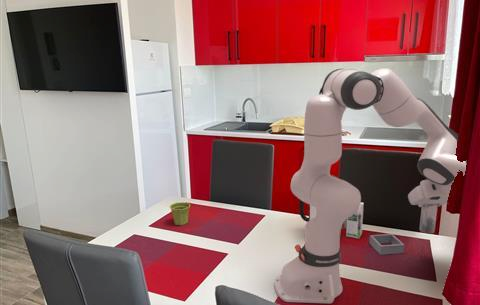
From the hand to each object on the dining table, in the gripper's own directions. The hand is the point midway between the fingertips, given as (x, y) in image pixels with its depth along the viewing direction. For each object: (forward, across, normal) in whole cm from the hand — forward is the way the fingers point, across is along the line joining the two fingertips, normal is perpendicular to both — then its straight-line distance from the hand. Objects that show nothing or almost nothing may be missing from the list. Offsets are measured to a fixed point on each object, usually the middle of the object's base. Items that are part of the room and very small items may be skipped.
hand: (428, 204), depth 138 cm
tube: (+6, 0, +7) cm, 10 cm away
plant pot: (+49, +93, -17) cm, 106 cm away
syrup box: (+31, +18, 0) cm, 36 cm away
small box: (+38, +20, -7) cm, 43 cm away
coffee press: (+31, +33, 0) cm, 45 cm away
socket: (+22, +10, +8) cm, 26 cm away
